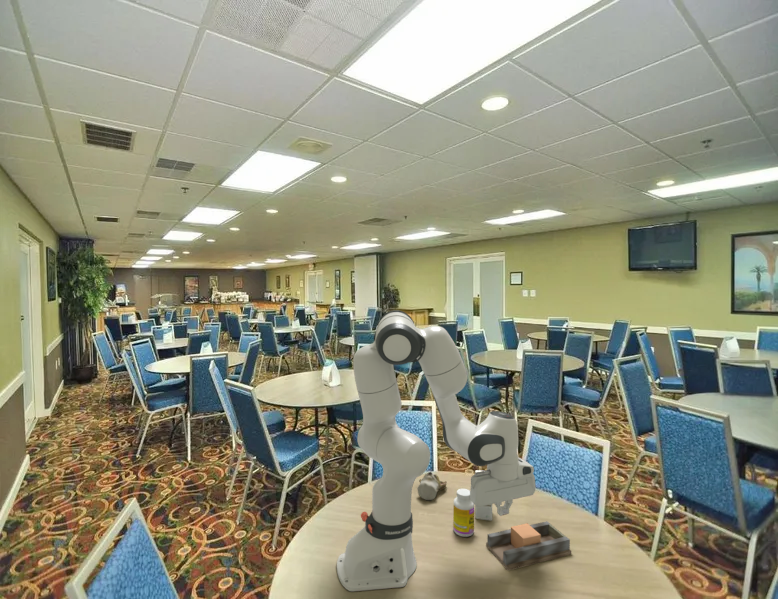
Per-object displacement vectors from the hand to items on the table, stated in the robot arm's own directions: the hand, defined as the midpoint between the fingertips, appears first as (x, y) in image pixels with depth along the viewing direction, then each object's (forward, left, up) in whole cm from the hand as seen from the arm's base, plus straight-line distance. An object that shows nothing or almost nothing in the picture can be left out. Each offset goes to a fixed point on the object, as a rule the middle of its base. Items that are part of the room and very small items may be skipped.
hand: (503, 513), depth 113 cm
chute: (+9, 0, -13) cm, 15 cm away
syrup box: (+6, +20, -13) cm, 24 cm away
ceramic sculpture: (-6, +39, -13) cm, 42 cm away
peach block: (+8, 0, -12) cm, 14 cm away
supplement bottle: (-5, +14, -13) cm, 20 cm away
